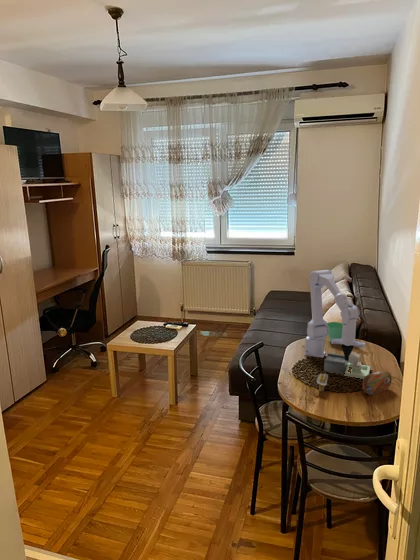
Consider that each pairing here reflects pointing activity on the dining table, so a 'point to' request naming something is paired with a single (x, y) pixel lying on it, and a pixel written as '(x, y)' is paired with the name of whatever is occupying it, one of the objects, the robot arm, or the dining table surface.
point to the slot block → (335, 363)
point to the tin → (376, 382)
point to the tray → (364, 373)
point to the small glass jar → (322, 381)
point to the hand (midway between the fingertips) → (346, 360)
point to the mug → (335, 330)
